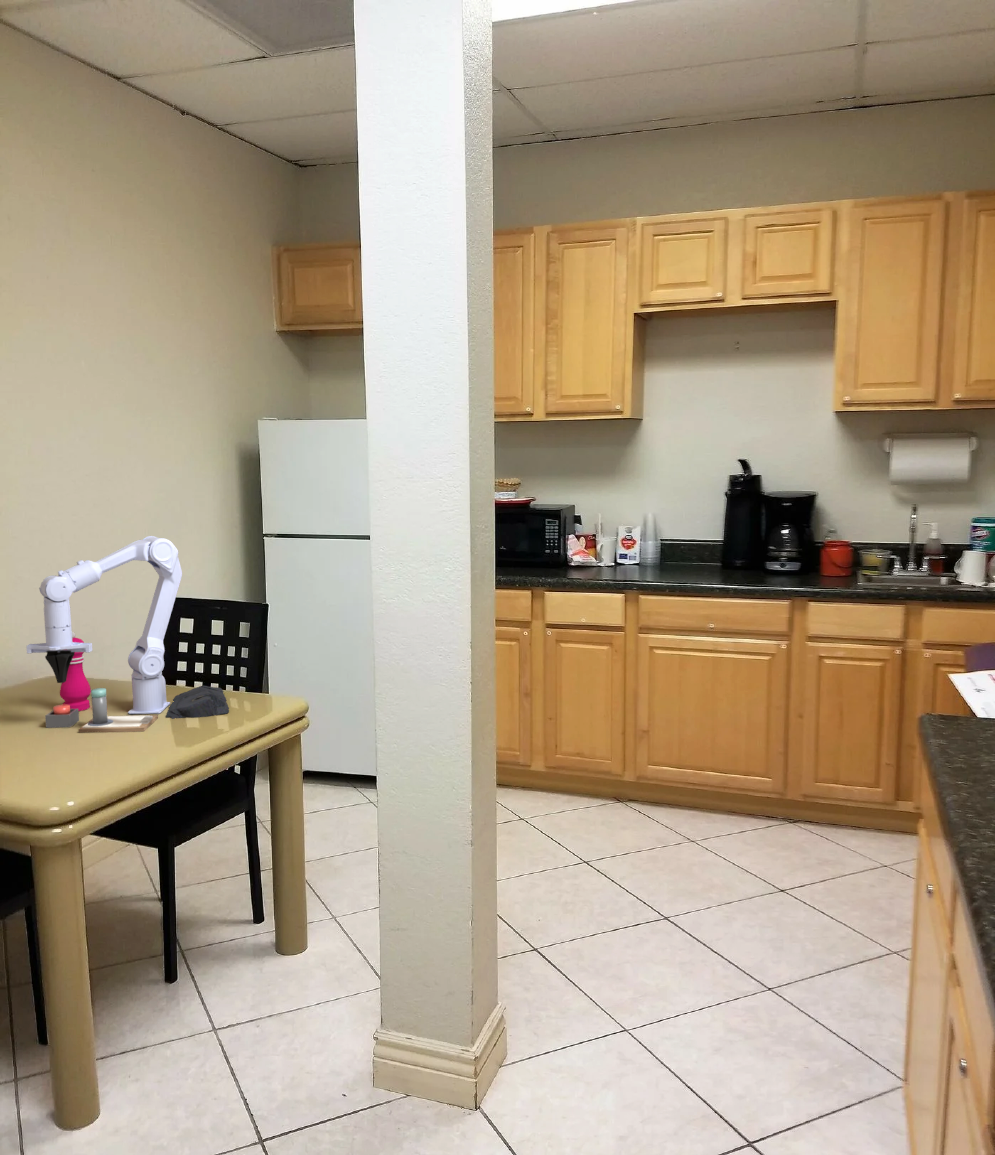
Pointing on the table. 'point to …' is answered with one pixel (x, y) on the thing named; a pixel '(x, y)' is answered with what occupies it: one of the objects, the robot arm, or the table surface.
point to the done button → (61, 709)
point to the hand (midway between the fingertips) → (61, 682)
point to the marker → (99, 706)
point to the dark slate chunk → (198, 703)
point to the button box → (62, 719)
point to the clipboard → (120, 724)
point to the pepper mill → (76, 682)
